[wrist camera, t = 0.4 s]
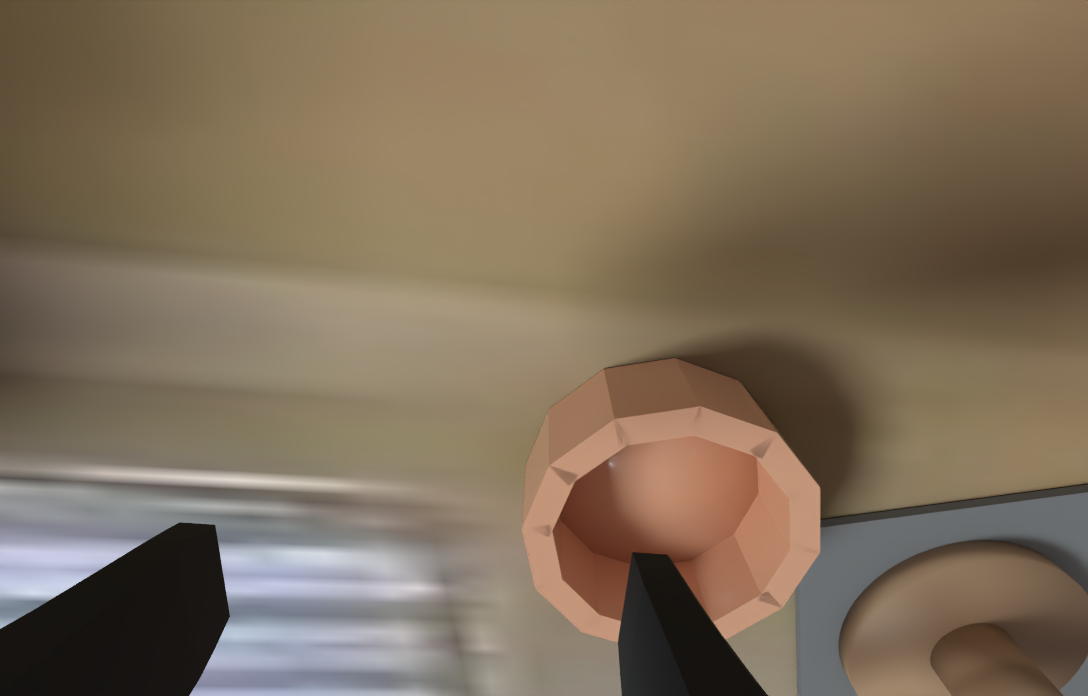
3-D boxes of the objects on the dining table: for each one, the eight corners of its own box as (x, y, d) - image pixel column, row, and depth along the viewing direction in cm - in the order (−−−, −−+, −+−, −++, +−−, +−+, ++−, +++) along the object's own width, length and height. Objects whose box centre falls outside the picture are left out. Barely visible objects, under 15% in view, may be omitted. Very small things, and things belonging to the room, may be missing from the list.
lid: (1054, 697, 24) (1160, 816, 20) (836, 721, 25) (895, 842, 21) (1091, 524, 21) (1226, 624, 17) (839, 557, 22) (909, 662, 18)
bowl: (780, 555, 22) (820, 630, 19) (552, 585, 23) (552, 663, 20) (774, 342, 19) (820, 388, 16) (508, 383, 20) (500, 435, 16)
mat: (1078, 709, 25) (1086, 718, 25) (798, 739, 26) (802, 748, 26) (1132, 478, 21) (1143, 485, 20) (794, 523, 22) (798, 530, 21)
